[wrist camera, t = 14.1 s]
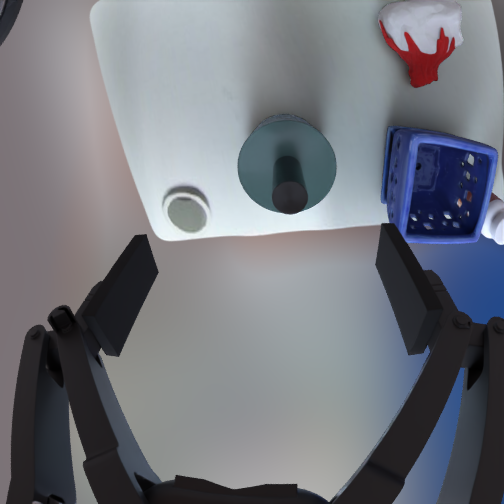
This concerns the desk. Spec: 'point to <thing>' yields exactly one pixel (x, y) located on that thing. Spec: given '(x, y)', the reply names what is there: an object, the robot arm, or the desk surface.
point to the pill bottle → (492, 218)
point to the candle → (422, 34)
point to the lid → (286, 166)
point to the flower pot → (436, 185)
